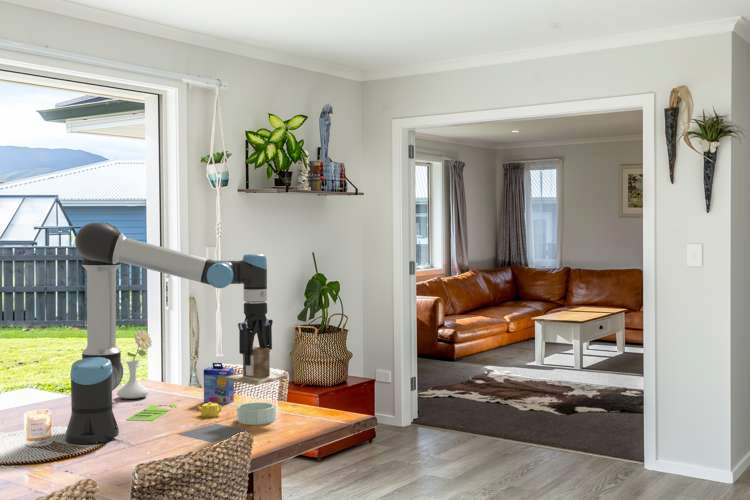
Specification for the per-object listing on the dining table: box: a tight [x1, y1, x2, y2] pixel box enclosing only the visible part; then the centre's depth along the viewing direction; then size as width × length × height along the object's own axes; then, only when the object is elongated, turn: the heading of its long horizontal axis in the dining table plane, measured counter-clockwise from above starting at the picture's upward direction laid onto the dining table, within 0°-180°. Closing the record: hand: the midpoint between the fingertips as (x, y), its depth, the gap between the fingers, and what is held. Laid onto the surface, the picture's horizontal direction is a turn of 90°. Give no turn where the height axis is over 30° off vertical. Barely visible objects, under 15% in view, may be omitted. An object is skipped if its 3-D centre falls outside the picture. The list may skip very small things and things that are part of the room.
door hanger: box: [125, 403, 177, 422], centre depth 282 cm, size 9×1×25 cm
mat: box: [177, 423, 251, 443], centre depth 250 cm, size 16×16×1 cm
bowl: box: [236, 401, 277, 426], centre depth 266 cm, size 12×12×5 cm
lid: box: [225, 346, 288, 386], centre depth 266 cm, size 14×14×10 cm
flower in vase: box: [116, 329, 153, 400], centre depth 305 cm, size 13×11×25 cm
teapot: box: [196, 402, 223, 418], centre depth 272 cm, size 8×6×5 cm
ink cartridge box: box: [203, 362, 235, 405], centre depth 297 cm, size 10×6×14 cm, turn 79°
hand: (256, 373), depth 266 cm, fingers closed on lid, 5 cm apart
